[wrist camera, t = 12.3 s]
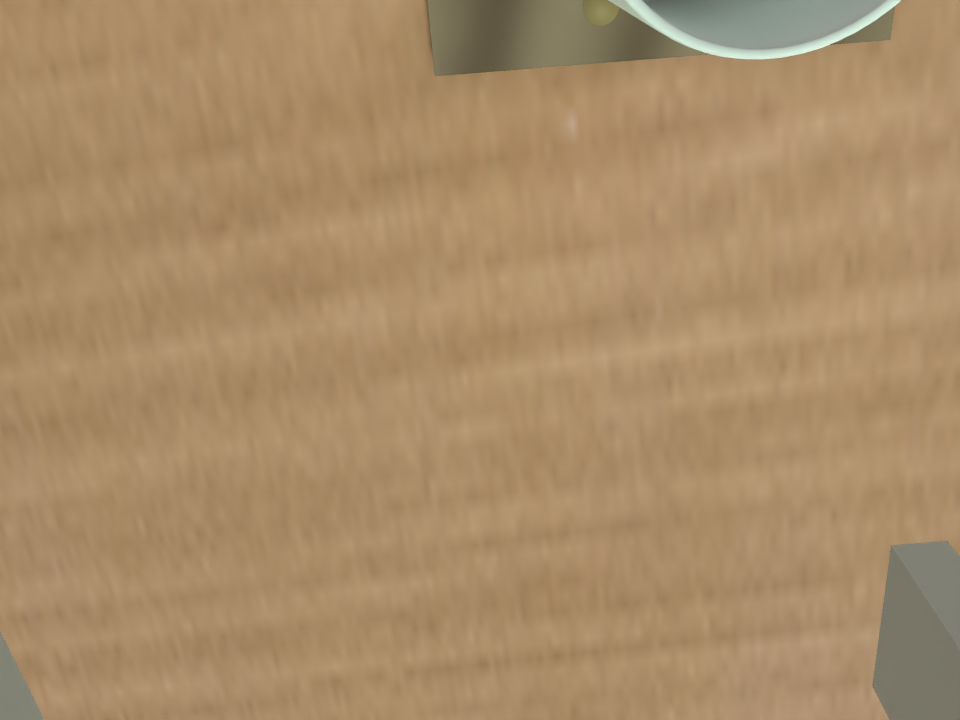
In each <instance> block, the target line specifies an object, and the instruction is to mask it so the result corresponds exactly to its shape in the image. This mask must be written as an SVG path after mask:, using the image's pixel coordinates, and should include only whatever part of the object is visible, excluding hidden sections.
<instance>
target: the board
mask: <svg viewBox="0 0 960 720" xmlns="http://www.w3.org/2000/svg"><path fill="white" fill-rule="evenodd" d="M427 3H428V13H429V23H430V33H431V43H432V53H433V63H434V73H435V76H443V75H455V74H468V73H481V72H493V71H506V70H518V69H531V68H543V67H556V66H568V65H581V64H594V63H606V62H619V61H631V60H644V59H656V58H669V57H681V56H694V55H706V54H708V53H704V52H701V51H698V50H695V49H693V48H690V47H687V46H685V45H683V44H681V43H679V42H676V41H674V40H672V39H670V38H669V37H667V36H665V35H664V34H662V33H660V32H659V31H657V30H655V29H654V28H652V27H651V26H649V25H647V24H646V23H644V22H642V21H641V20H639V19H638V18H636V17H634V16H633V15H631V14H629V13H628V12H626V11H625V10H623V9H621V8H620V7H618V6H617V5H615V4H613V3H612V2H610V1H609V0H427ZM894 7H895V6H894ZM894 7H893V8H892V9H890V10H889V11H887V12H886V13H885V14H883V15H882V16H881V17H879V18H878V19H877V20H875V21H874V22H872V23H870V24H869V25H867V26H865V27H864V28H862V29H861V30H859V31H857V32H855V33H853V34H851V35H849V36H847V37H845V38H843V39H841V40H839V41H837V42H835V43H832V44H845V43H857V42H870V41H882V40H890V38H891V30H892V22H893V15H894ZM832 44H830V45H832Z"/></svg>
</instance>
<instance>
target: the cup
mask: <svg viewBox="0 0 960 720" xmlns="http://www.w3.org/2000/svg"><path fill="white" fill-rule="evenodd" d="M609 1H610V2H612V3H613V4H615V5H617V6H618V7H620V8H621V9H623V10H625V11H626V12H628V13H629V14H631V15H633V16H634V17H636V18H638V19H639V20H641V21H642V22H644V23H646V24H647V25H649V26H651V27H652V28H654V29H655V30H657V31H659V32H660V33H662V34H664V35H665V36H667V37H669V38H670V39H672V40H674V41H676V42H679V43H681V44H683V45H685V46H687V47H690V48H693V49H695V50H698V51H701V52H704V53H708V54H713V55H717V56H721V57H729V58H738V59H771V58H782V57H787V56H792V55H798V54H802V53H806V52H809V51H813V50H816V49H819V48H822V47H825V46H827V45H830V44H832V43H835V42H837V41H839V40H841V39H843V38H845V37H847V36H849V35H851V34H853V33H855V32H857V31H859V30H861V29H862V28H864V27H865V26H867V25H869V24H870V23H872V22H874V21H875V20H877V19H878V18H879V17H881V16H882V15H883V14H885V13H886V12H887V11H889V10H890V9H892V8H893V7H894V6H895V5H896V4H897V3H899V2H900V1H901V0H609Z"/></svg>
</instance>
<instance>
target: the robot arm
mask: <svg viewBox="0 0 960 720" xmlns="http://www.w3.org/2000/svg"><path fill="white" fill-rule="evenodd" d="M872 686H873V688H874V690H875V692H876V694H877V696H878V698H879V700H880V702H881V704H882V706H883V708H884V710H885V711H886V713H887V715H888V717H889V719H890V720H960V557H959V555H958V554H957V553H956V551H955V550H954V549H953V547H952V546H951V545H950V543H949V542H948V541H939V542H927V543H915V544H902V545H891V550H890V558H889V565H888V573H887V580H886V588H885V595H884V603H883V610H882V618H881V625H880V633H879V640H878V648H877V655H876V663H875V670H874V678H873V685H872ZM0 720H44V718H43V716H42V714H41V712H40V710H39V708H38V706H37V704H36V702H35V700H34V698H33V696H32V694H31V692H30V690H29V688H28V686H27V684H26V682H25V680H24V678H23V676H22V674H21V672H20V670H19V668H18V666H17V664H16V662H15V660H14V658H13V656H12V654H11V652H10V650H9V648H8V646H7V644H6V642H5V640H4V638H3V636H2V634H1V632H0Z"/></svg>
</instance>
